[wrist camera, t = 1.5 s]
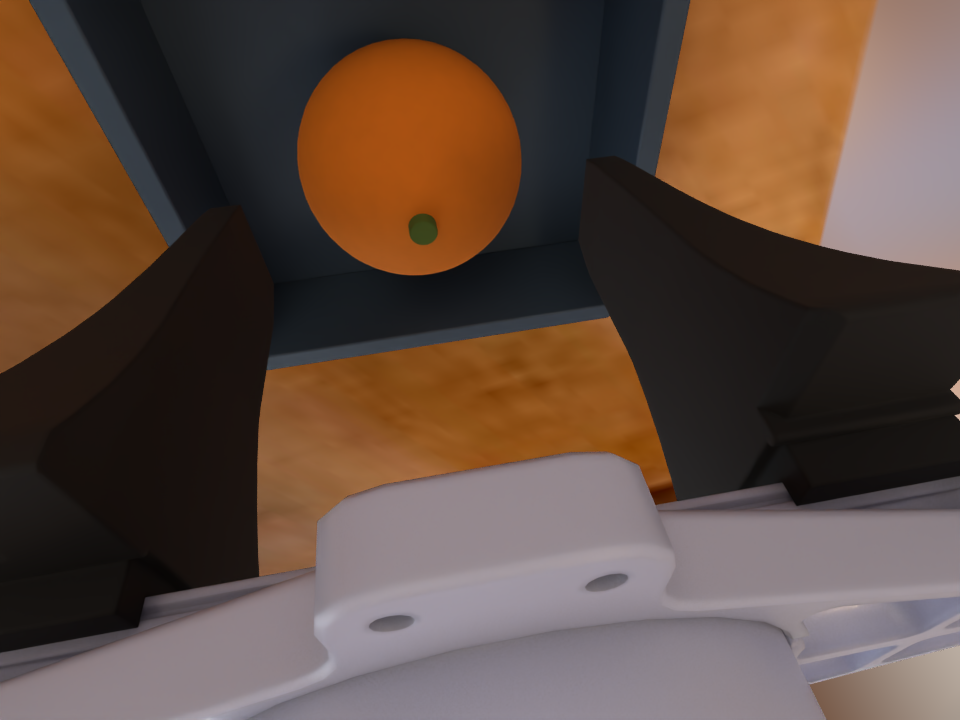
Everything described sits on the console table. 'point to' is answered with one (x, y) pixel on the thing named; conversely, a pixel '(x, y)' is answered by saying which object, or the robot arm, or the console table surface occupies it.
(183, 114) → the dark gray tray
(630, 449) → the console table surface
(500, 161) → the orange
